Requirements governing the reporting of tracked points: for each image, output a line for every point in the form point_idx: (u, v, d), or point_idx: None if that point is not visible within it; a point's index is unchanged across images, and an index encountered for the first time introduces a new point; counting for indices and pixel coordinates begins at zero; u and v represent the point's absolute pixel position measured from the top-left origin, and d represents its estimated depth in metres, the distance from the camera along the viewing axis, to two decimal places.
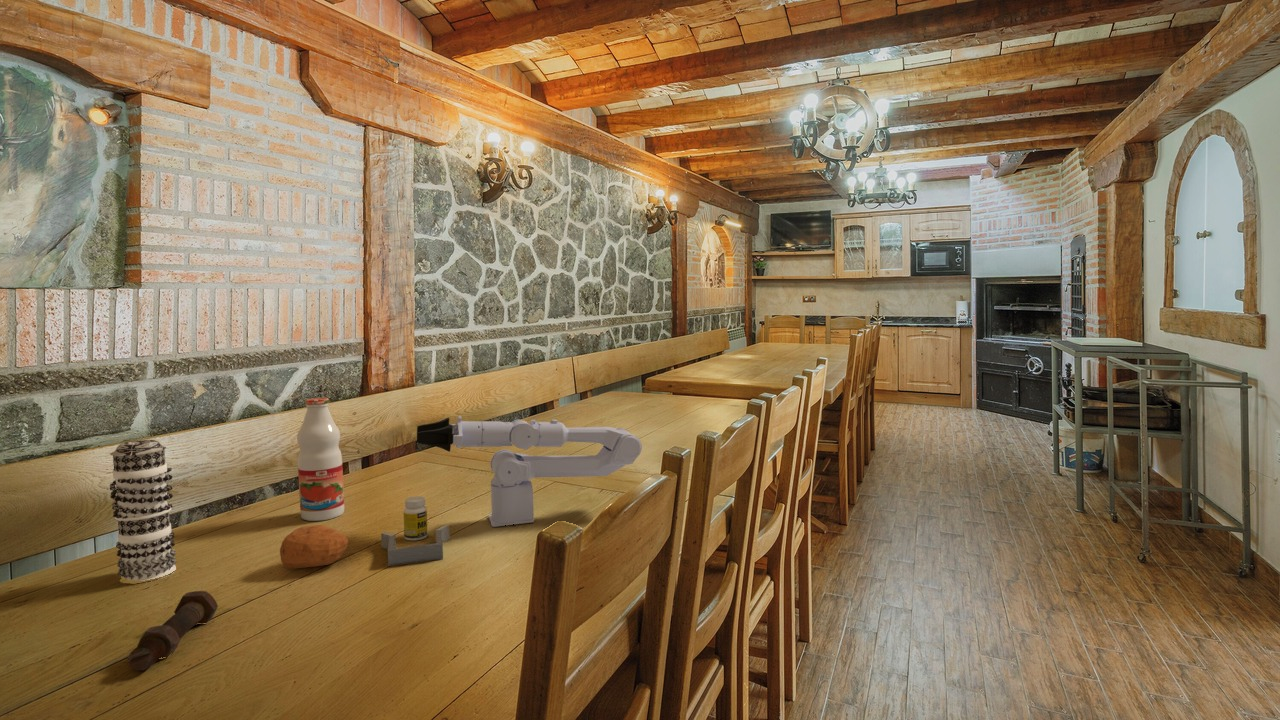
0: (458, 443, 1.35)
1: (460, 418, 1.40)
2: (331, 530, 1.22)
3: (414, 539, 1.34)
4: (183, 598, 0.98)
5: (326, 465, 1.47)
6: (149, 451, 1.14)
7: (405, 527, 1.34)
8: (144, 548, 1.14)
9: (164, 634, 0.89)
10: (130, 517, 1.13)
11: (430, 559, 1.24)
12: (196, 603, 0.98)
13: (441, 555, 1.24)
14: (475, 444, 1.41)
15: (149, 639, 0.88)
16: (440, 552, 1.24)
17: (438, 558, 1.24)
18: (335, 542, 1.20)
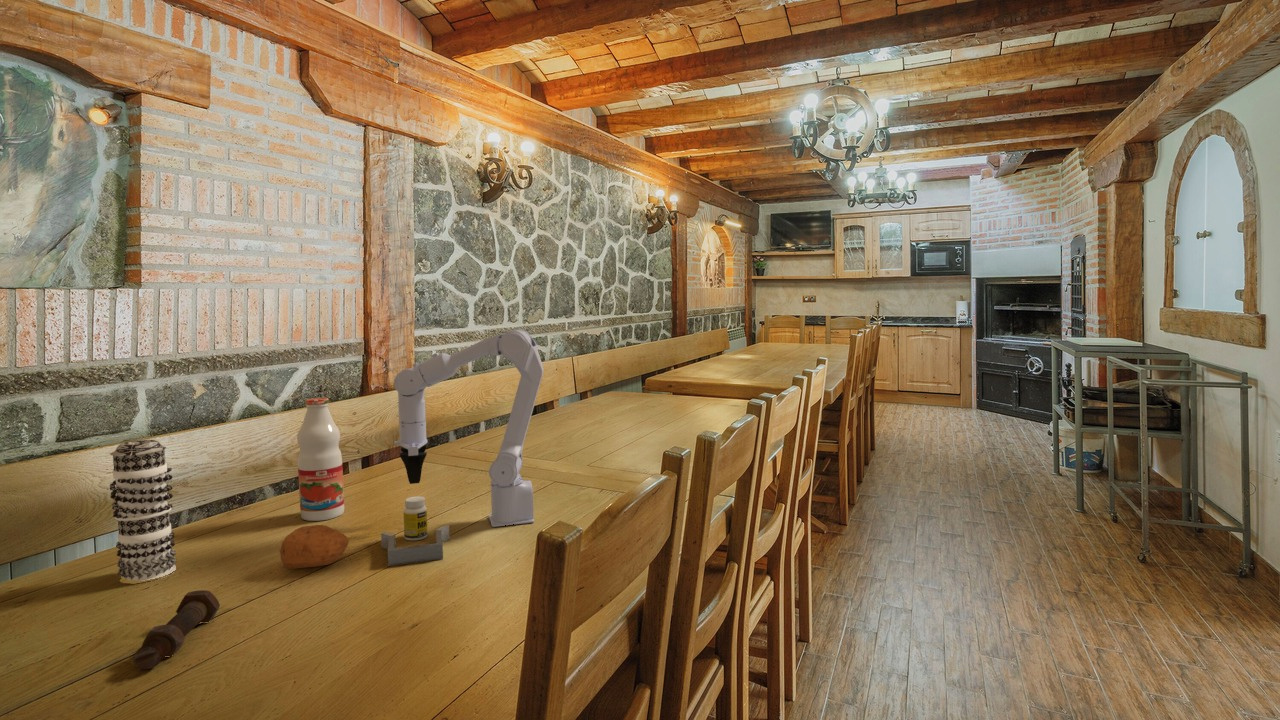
0: (416, 450, 1.38)
1: (395, 443, 1.42)
2: (331, 530, 1.22)
3: (414, 539, 1.34)
4: (185, 597, 0.99)
5: (326, 465, 1.47)
6: (149, 451, 1.14)
7: (405, 527, 1.34)
8: (144, 548, 1.14)
9: (169, 633, 0.90)
10: (130, 517, 1.13)
11: (430, 559, 1.24)
12: (199, 603, 0.99)
13: (441, 555, 1.24)
14: (421, 427, 1.43)
15: (154, 638, 0.89)
16: (440, 552, 1.24)
17: (438, 558, 1.24)
18: (335, 542, 1.20)
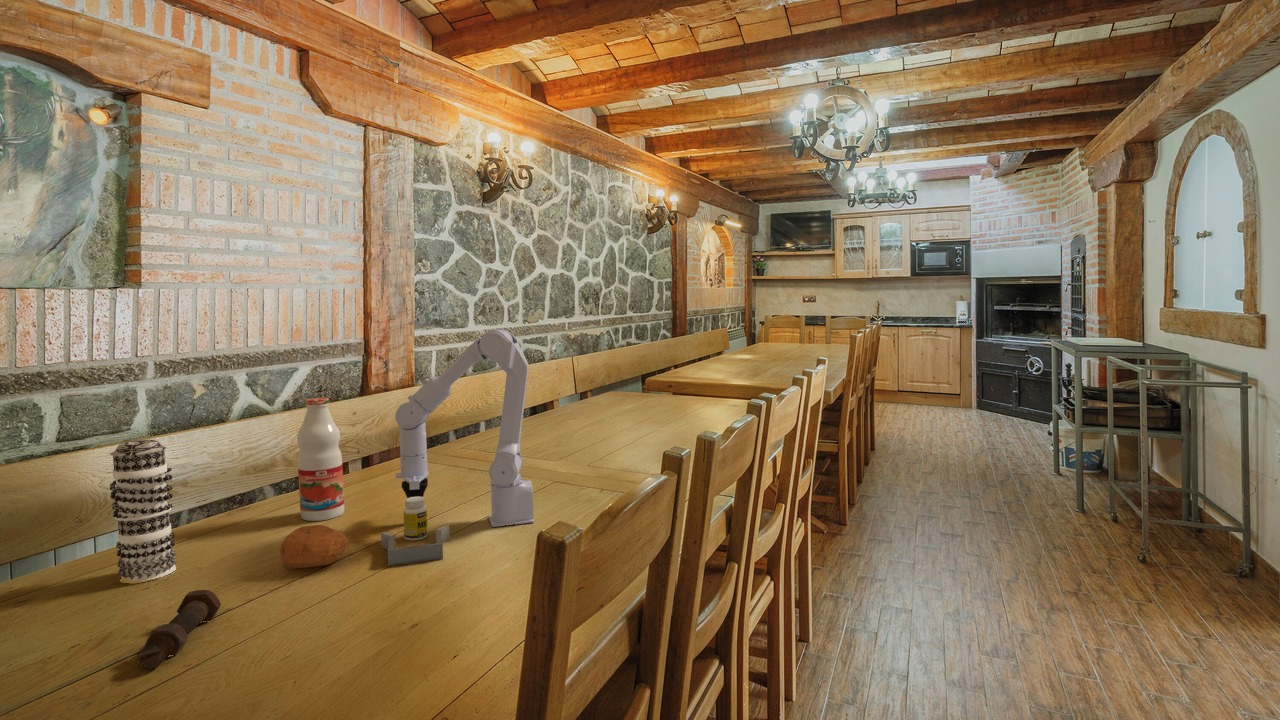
0: (417, 484, 1.38)
1: (397, 476, 1.43)
2: (331, 530, 1.22)
3: (414, 539, 1.34)
4: (186, 597, 0.99)
5: (326, 465, 1.47)
6: (149, 451, 1.14)
7: (405, 527, 1.34)
8: (144, 548, 1.14)
9: (173, 632, 0.90)
10: (130, 517, 1.13)
11: (430, 559, 1.24)
12: (200, 602, 0.99)
13: (441, 555, 1.24)
14: (423, 460, 1.43)
15: (158, 637, 0.89)
16: (440, 552, 1.24)
17: (438, 558, 1.24)
18: (335, 542, 1.20)
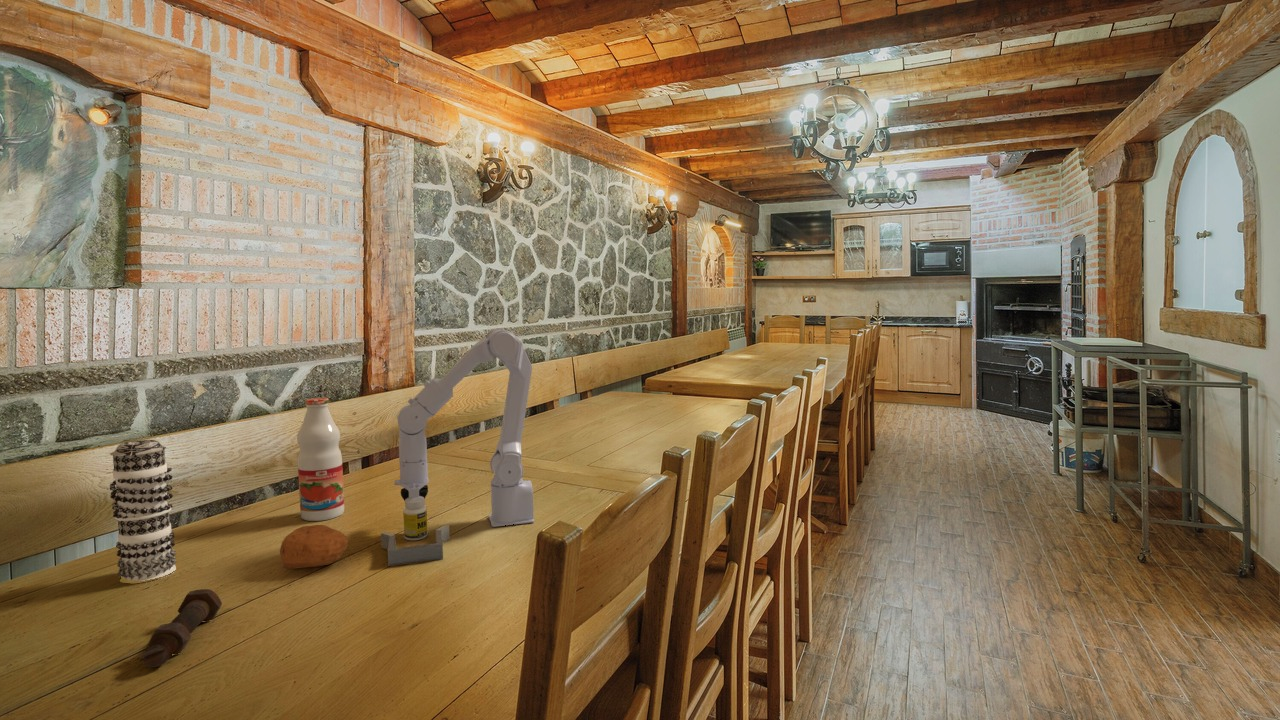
0: (417, 492, 1.32)
1: (395, 483, 1.37)
2: (331, 530, 1.22)
3: (414, 539, 1.34)
4: (187, 596, 0.99)
5: (326, 465, 1.47)
6: (149, 451, 1.14)
7: (405, 527, 1.34)
8: (144, 548, 1.14)
9: (176, 631, 0.90)
10: (130, 517, 1.13)
11: (430, 559, 1.24)
12: (201, 601, 0.99)
13: (441, 555, 1.24)
14: (423, 466, 1.37)
15: (161, 636, 0.89)
16: (440, 552, 1.24)
17: (438, 558, 1.24)
18: (335, 542, 1.20)
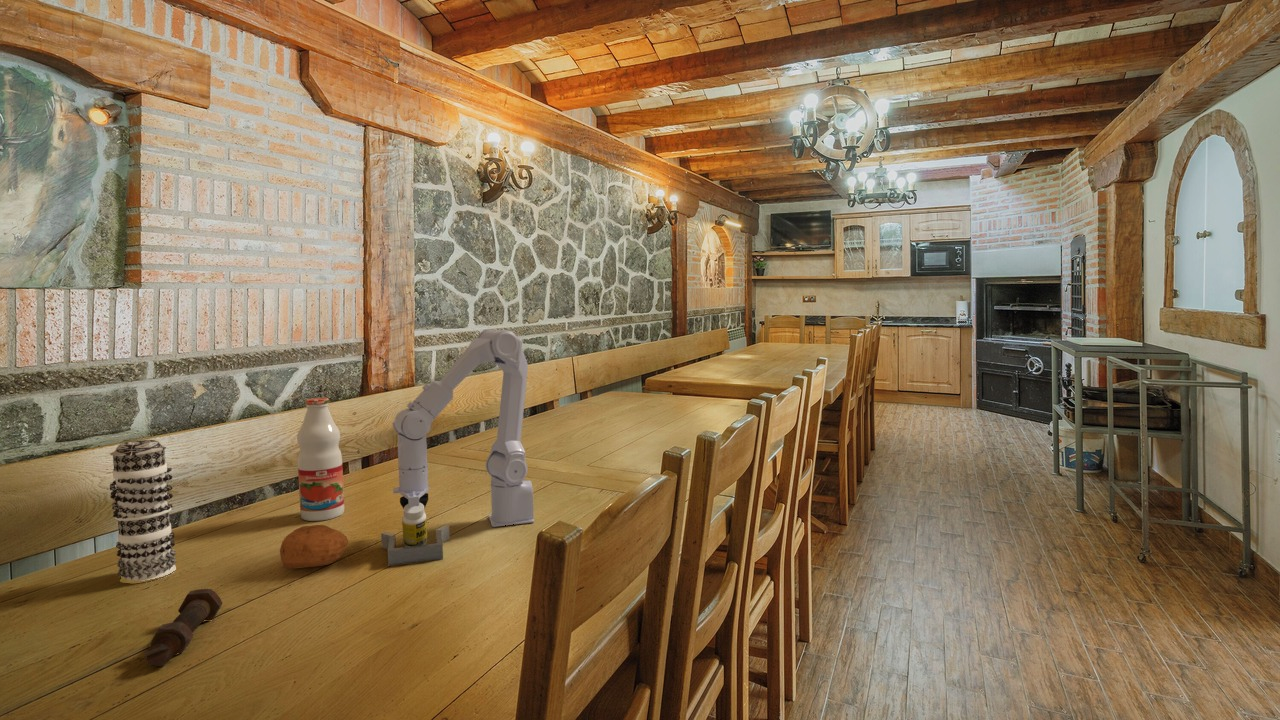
0: (416, 500, 1.26)
1: (394, 491, 1.31)
2: (331, 530, 1.22)
3: None
4: (188, 596, 0.99)
5: (326, 465, 1.47)
6: (149, 451, 1.14)
7: (404, 535, 1.29)
8: (144, 548, 1.14)
9: (179, 630, 0.90)
10: (130, 517, 1.13)
11: (430, 559, 1.24)
12: (202, 601, 0.99)
13: (441, 555, 1.24)
14: (423, 474, 1.31)
15: (164, 635, 0.89)
16: (440, 552, 1.24)
17: (438, 558, 1.24)
18: (335, 542, 1.20)
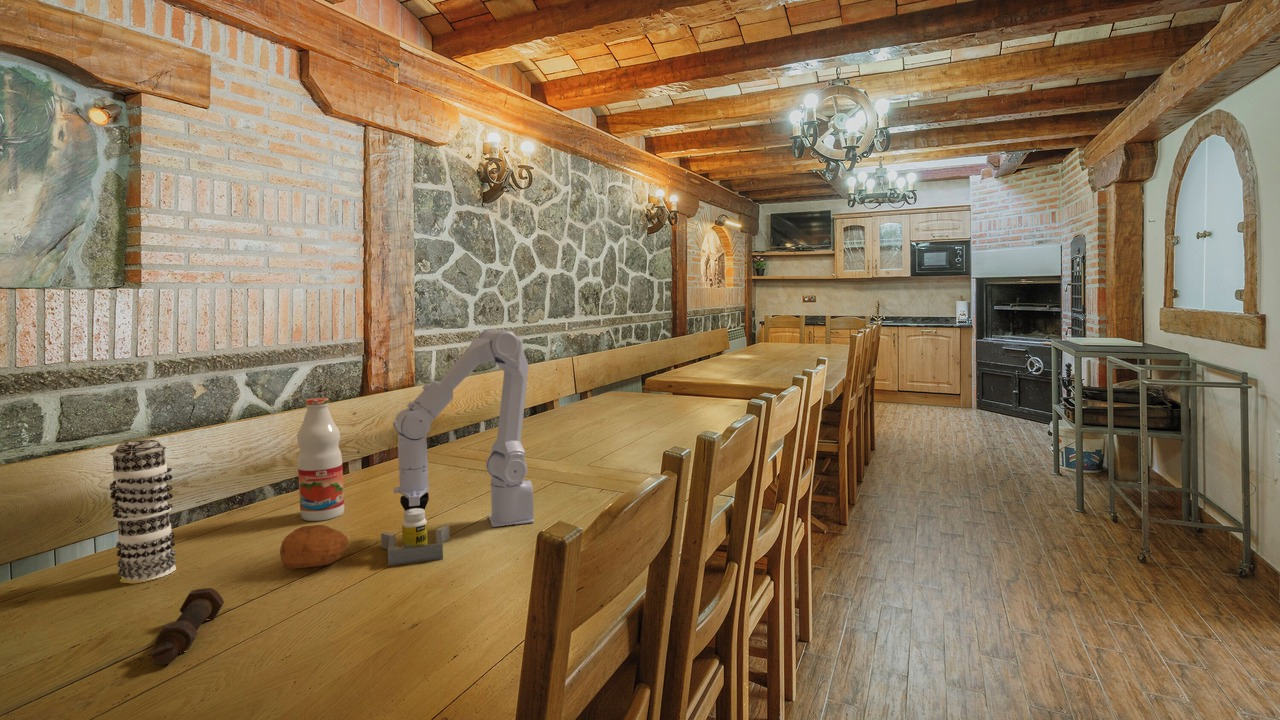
0: (417, 500, 1.27)
1: (395, 490, 1.31)
2: (331, 530, 1.22)
3: None
4: (189, 596, 0.99)
5: (326, 465, 1.47)
6: (149, 451, 1.14)
7: (403, 541, 1.26)
8: (144, 548, 1.14)
9: (183, 629, 0.91)
10: (130, 517, 1.13)
11: (430, 559, 1.24)
12: (204, 600, 0.99)
13: (441, 555, 1.24)
14: (423, 473, 1.32)
15: (169, 634, 0.90)
16: (440, 552, 1.24)
17: (438, 558, 1.24)
18: (335, 542, 1.20)
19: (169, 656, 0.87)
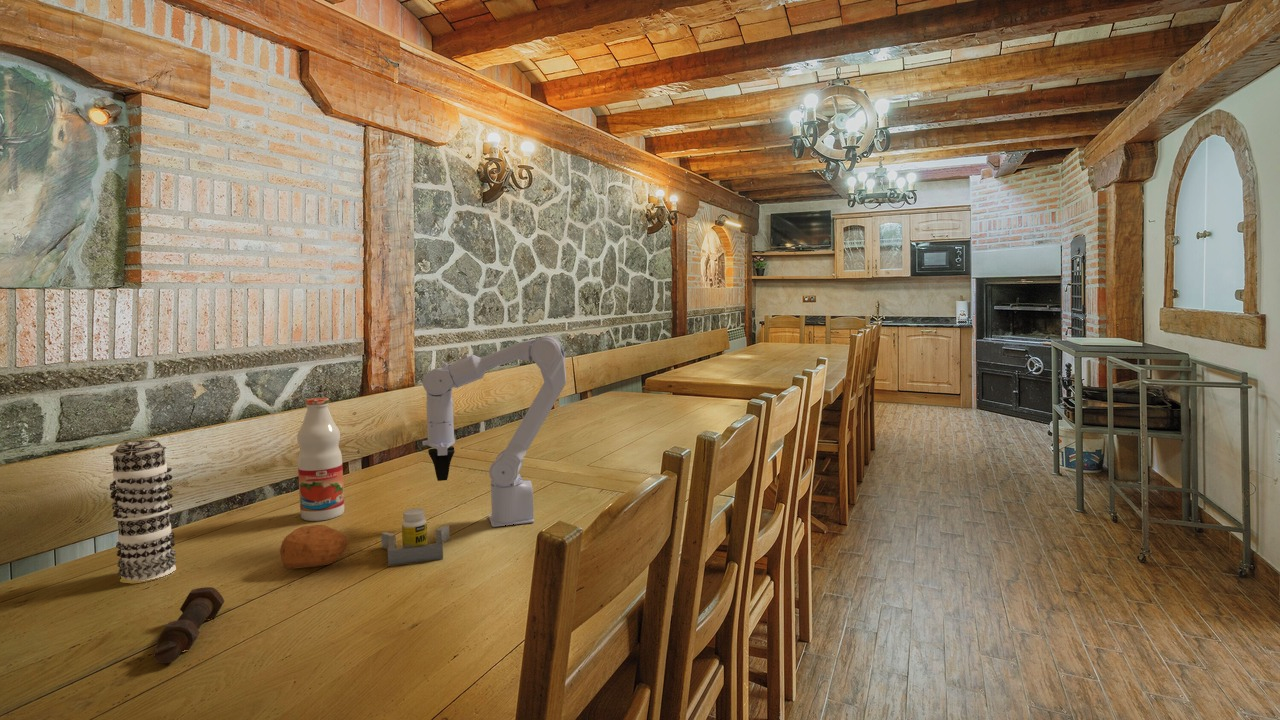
0: (445, 450, 1.38)
1: (424, 443, 1.42)
2: (331, 530, 1.22)
3: None
4: (190, 595, 1.00)
5: (326, 465, 1.47)
6: (149, 451, 1.14)
7: (403, 541, 1.26)
8: (144, 548, 1.14)
9: (186, 628, 0.91)
10: (130, 517, 1.13)
11: (430, 559, 1.24)
12: (205, 599, 1.00)
13: (441, 555, 1.24)
14: (449, 427, 1.43)
15: (171, 633, 0.90)
16: (440, 552, 1.24)
17: (438, 558, 1.24)
18: (335, 542, 1.20)
19: (172, 655, 0.88)
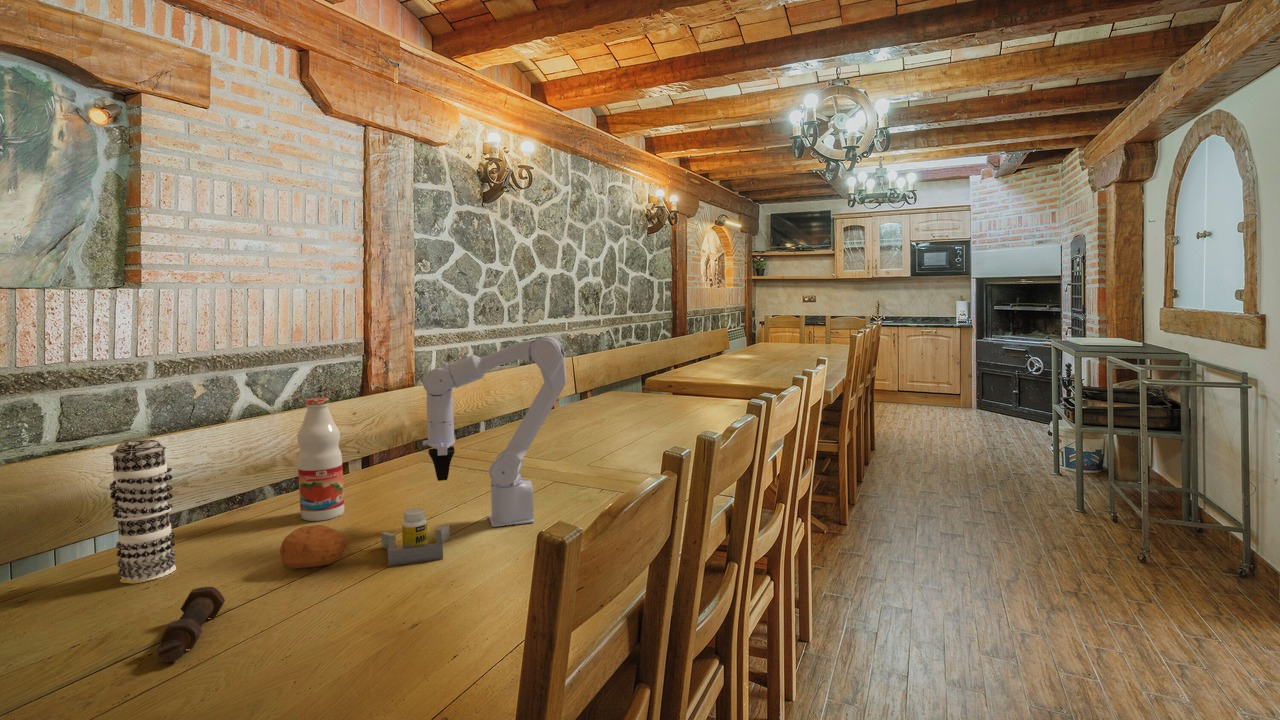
0: (445, 450, 1.38)
1: (424, 443, 1.42)
2: (331, 530, 1.22)
3: None
4: (191, 594, 1.00)
5: (326, 465, 1.47)
6: (149, 451, 1.14)
7: (403, 541, 1.26)
8: (144, 548, 1.14)
9: (189, 626, 0.91)
10: (130, 517, 1.13)
11: (430, 559, 1.24)
12: (206, 598, 1.00)
13: (441, 555, 1.24)
14: (450, 427, 1.43)
15: (175, 632, 0.90)
16: (440, 552, 1.24)
17: (438, 558, 1.24)
18: (335, 542, 1.20)
19: (176, 654, 0.88)
